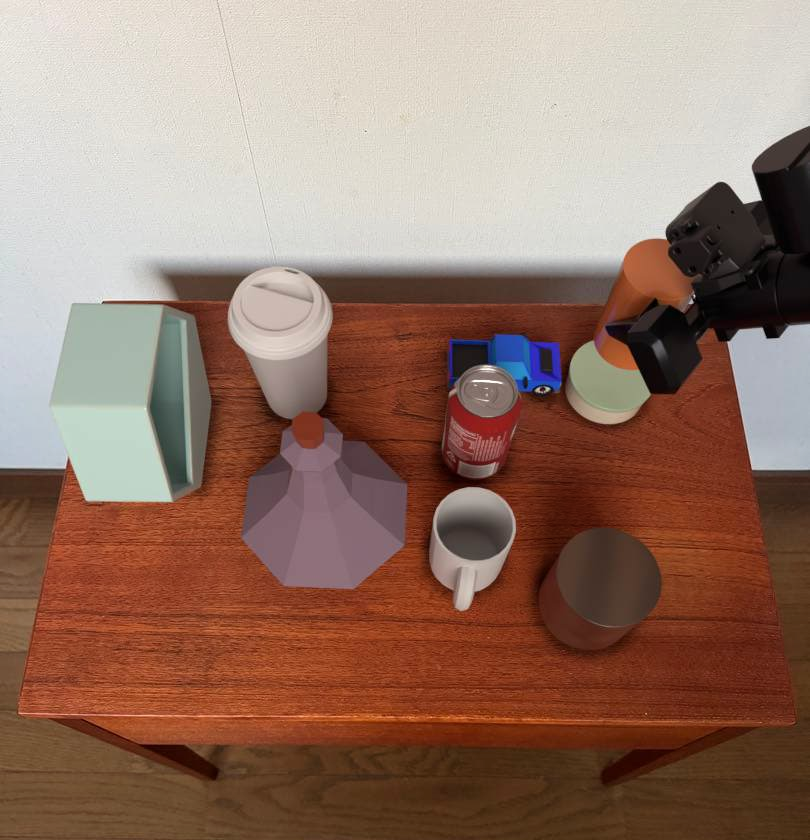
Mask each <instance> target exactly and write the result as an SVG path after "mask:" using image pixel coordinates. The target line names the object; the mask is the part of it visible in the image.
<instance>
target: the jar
mask: <svg viewBox="0 0 810 840" xmlns="http://www.w3.org/2000/svg"><path fill="white" fill-rule="evenodd" d="M564 390H565V391H564V392H565V395H566V399H567V400H568V403H569V405H570V406H571V407H572V408H573V410H575V412H576V413H578V414H579V415H580V416H582V417H583V418H585V419H586V420H588V421H591V422H594V423H596V424H601V425H616V424H620V423H624V422H626V421H628V420H630V419H632V418H633V417H635V416H636V415H637V413H638V412H639V411H640V409H641V408H642V406H643V404H645V403H646V402H647V401H648V399H649V398H650V396H652V394H650V392H649V390H648V388H647V386H646V384H645V382H644V380H643V378H642V375H641V373H640V371H639V370H625V369H620V368H617V367H615V366H613V365H611V364H609V363H608V362H606V361H605V360H604V359H603V358H602V357H601V356H600V355H599V353H598V352H597V350H596V348H595V344H594V339H593V340H591V341H588V342H586V343H584V344H582V345H581V346H580V347H579V348H578V349H577V350H575V353H574V354H573V355H572V358H571V360H570V362H569V366H568V373H567V375H566V378H565V383H564Z"/></svg>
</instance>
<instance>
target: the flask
mask: <svg viewBox="0 0 810 840" xmlns="http://www.w3.org/2000/svg"><path fill="white" fill-rule="evenodd" d="M343 438H344V433H342V432H341V431H340V429H338V428H337V427H336V426H335V425H334V424H333V423H332V422H331V421H330V419H328V417H322V416H320V415H319V413H318V412H317V413H316V412H302V413H300V414H299V415H298V416H296V417H295V418H294V419H293V420H292V419H291V425H289V426H288V427H287V428H285V429H283V430H282V435H281V442H280V450H279V454H278V455H276V456H275V457H274V458H272V459H271V460H270V461H269V462H267V463H266V464H264V465H263V466H262V467H261V468H259V469H258V470H257V471H255V472H254V473H252V474H251V475H249V476H248V485H247V490H246V491H247V492H246V496H245V497H246V498H245V506H244V512H243V519H242V520H243V521H242V527H241V535H240V539H241V540H242V541H243V542H244V544H246V546H247V547H248V548H249V550H251V551H252V553H254V555H255V556H256V557H257V558H258V559H259V560H260V561H261V562H262V563H263V565H264V566H265V567H266V568H267V569H268V570H269V571H270V573H271V574H272V575H273V576H274V577H275V578H276V579H277V580H278V582H279V584H281V585H282V586H283V587H295V588H297V587H298V588H314V589H315V588H316V589H317V588H318V589H319V588H320V589H340V590H355V589H356V587H358V586H359V585H360V584H361V583H362V582H364V581H365V580H366V579H367V578H368V577H370V576H371V575H372V574H373V573H374V572H376V570H378V569H380V567H381V566H382V565H384V564H385V563H386V562H387V561H388V560H390V559H391V558H392V557H393V556H394V555H396V553H398V552H400V550H402V548H403V547H405V545H406V528H407V527H406V525H407V502H408V484H407V482H406V481H405V480H404V479H403V478H402V477H401V476H400V475H399V474H398V473H397V472H396V471H394V469H393V468H392V467H391V466H390V465H389V464H388V463H387V462H386V461H385V460H383V458H382V457H381V456H379V454H377V453H376V452H375V451H374V449H372V447H370V446H369V445H368V444H367V443H366V442H365V441H364V440H363V441H362V440H361V441H360V440H343Z"/></svg>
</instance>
